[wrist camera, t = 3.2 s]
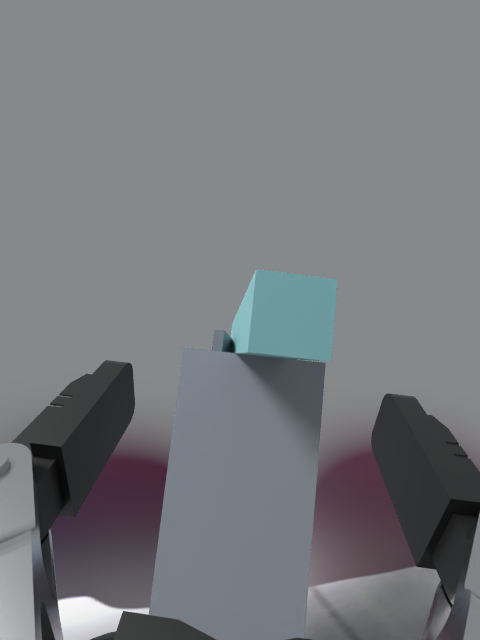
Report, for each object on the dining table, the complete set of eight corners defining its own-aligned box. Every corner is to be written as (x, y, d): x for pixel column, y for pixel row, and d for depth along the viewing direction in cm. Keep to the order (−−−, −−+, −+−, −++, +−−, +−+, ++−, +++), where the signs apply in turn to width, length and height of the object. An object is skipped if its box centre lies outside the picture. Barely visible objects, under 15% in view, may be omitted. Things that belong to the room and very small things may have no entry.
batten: (247, 352, 13) (256, 269, 13) (229, 353, 37) (232, 323, 37) (331, 361, 13) (337, 279, 14) (259, 356, 37) (262, 327, 37)
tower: (113, 886, 19) (185, 326, 23) (160, 704, 29) (205, 336, 33) (282, 917, 18) (327, 341, 22) (271, 721, 28) (303, 346, 32)
